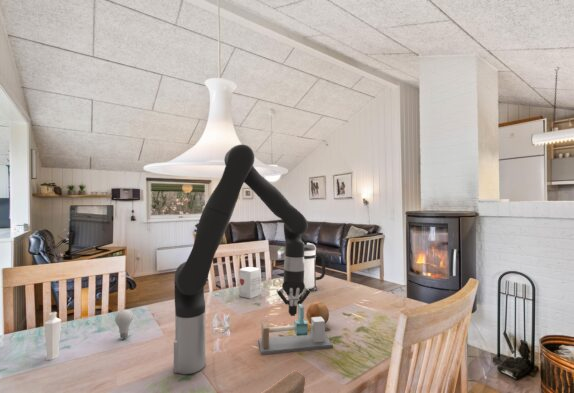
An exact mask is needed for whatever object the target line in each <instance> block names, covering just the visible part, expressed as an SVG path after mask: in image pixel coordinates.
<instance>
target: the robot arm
mask: <svg viewBox="0 0 574 393" xmlns="http://www.w3.org/2000/svg"><path fill="white" fill-rule="evenodd" d="M224 164H225V167H224V170H223V173H222V175H221V178H220V180H219V182H218V184H217V185H216V186H215V188H214V190H213V191H212V193H211V194H210V196H209V198H208V200H207V201H206V204H205V205H204V208H203V210H202V213H201V215H200V218H199V221H198V224H197V227H196V233H195V238H194V242H193V244H192V245H193V246H192V249H191V250H190V254H189V255H188V258H187V259H186V261H184V262H182V263H181V264H180V265H179V266H177V268H176V270H175V272H174V310H175V311H174V312H175V314H174V316H175V319H174V320H175V322H174V323H175V324H174V325H175V326H174V327H175V329H174V330H175V331H174V333H175V335H174V336H175V337H174V340H173V373H174V374H175V373H176V374H179V375H180V374H181V375H192V374H194V373H198V372H201V370H203V369H204V368H205V366H206V300H205V299H206V298H205V289H204V288H205V286H206V285H207V281H208V278H209V274H210V271H211V267H212V264H213V261H214V258H215V254H216V253H217V251H218V249H219V246H220V245H221V242H222V239H223V237H224V235H225V233H226V230H227V228H228V225H229V223H230V221H231V219H232V216H233V213H234V210H235V207H236V204H237V203H238V199H239V195H240V192H241V190H242V187H243V186H244V184H245V185H247V187H249V188H250V189H251V190H252V191H253V193H254V194H256V195H257V197H259V199H260V201H261V202H263V203H264V204H265V205H266V207H267V208H268V209H269V210H270V211H271V212H272V213H273V215H274V216H275V217H277V218H279V219H281V221H282V222H283V234H284V235H283V236H284V240H285V252H284V254H285V256H284V262H283V283H282V285H281V287H280V288H277V289H276V294H278V296H279V298H280V299H281V300H282V302H283V303H284V304H285V305H287V306H288V314H289V315H290V316H291V317H295V316H296V315H297V314H298V304H302V305H303V303H304V301H305V300H306V299H307V297H308V296H309V295H310V294H311V291H310V289H307V288H306V287H305V285H304V243H305V242H304V240H302V234H304V233H306V231H307V230H308V228H309V227H308V226H309V223H308V220H307V219H306V217H305V216H304V215H303V213H301V212H300V211H299V210H298V209H297V208H296V207H294V206H293V205H292V204H291V203H290V202H289V200H288V199H287V198H286V197H285V196H284V194H283V193H282V192H281V191H280V190H279V189H278V188H277V187H276V186H275V185H273V184H272V183H271V182H269V181H268V180H267V179H266V178H264V177H263V175H261V174H260V172H258V170H257V169H256V167H255V166H254V164H255V153H254V150H253V149H252V148H251V147H250V146H249V145H247V144H243V143H241V144H237V145H234V146H233V147H231V148H230V149H229V150H228V151H226V153H225V156H224ZM284 294H286V295H287V298H288V299H287V298H286V297H285V295H284Z"/></svg>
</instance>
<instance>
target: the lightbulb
mask: <svg viewBox="0 0 574 393" xmlns="http://www.w3.org/2000/svg"><path fill="white" fill-rule="evenodd" d="M133 319H134V314H133V312H132V311H131V310H128V309H122V310H120V311H119V312H117V313H116V315H115V318H114V321H115V324H116V326H117V327H118V330H119V331H118V332H119V334H120V335H119V336H120V339H122V340H124V339H127V338H128V336H129V331H130V330H129V329H130V326H131V323H132V321H133Z"/></svg>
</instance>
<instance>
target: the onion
mask: <svg viewBox="0 0 574 393" xmlns="http://www.w3.org/2000/svg"><path fill="white" fill-rule="evenodd" d="M305 314H306V315H305V316H306V319H307V320H306V321H307V322H309V323H310V324H311V317H322V318H323V319H324V321H325V325H326V324H327V323H328V321H329V318H330V312H329V309H328V306H327V305H326V303H323V302H321V301H320V300H319V301H314V302H312V303H311V304H310V305H309V306H308V308H307V310H306V313H305Z"/></svg>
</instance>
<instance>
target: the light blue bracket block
mask: <svg viewBox="0 0 574 393" xmlns="http://www.w3.org/2000/svg"><path fill="white" fill-rule="evenodd" d="M304 309H305V308H304V306H303V303H302V304H298V305H297V317H298V318H297V319H294V326H295V325H296V330H294V333H295V335H297V336H303V335H308V334H309V333H308V332H309V331H308V324H307V322H308V321H307V320H306V319H305V317H304V315H305V312H304V311H305V310H304Z"/></svg>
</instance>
